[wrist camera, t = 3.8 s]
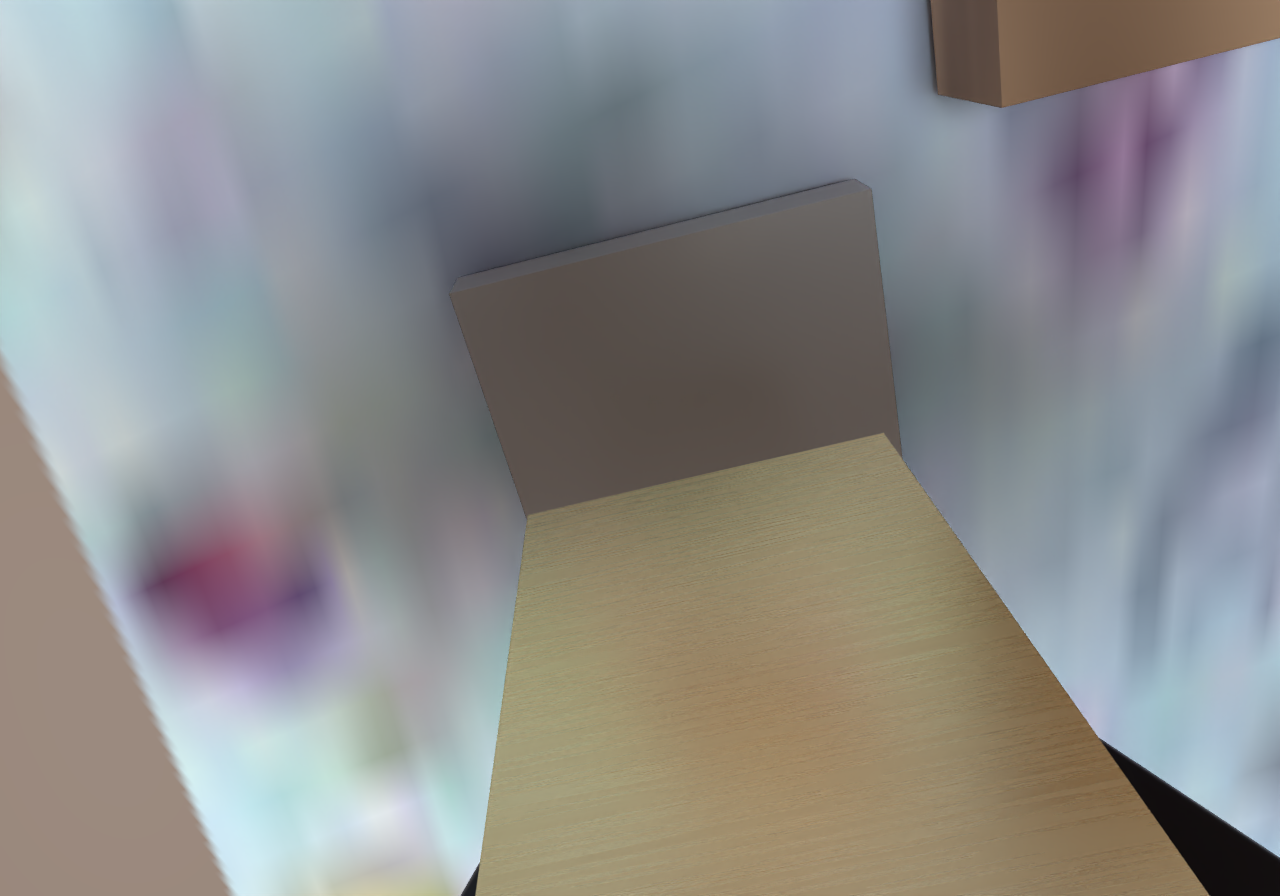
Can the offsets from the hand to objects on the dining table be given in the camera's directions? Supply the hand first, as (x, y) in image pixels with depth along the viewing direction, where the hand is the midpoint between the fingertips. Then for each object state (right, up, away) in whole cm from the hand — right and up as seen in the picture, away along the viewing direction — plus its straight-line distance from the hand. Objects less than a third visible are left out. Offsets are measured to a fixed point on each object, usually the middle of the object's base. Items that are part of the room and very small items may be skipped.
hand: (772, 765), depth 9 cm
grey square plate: (0, +4, +8) cm, 8 cm away
